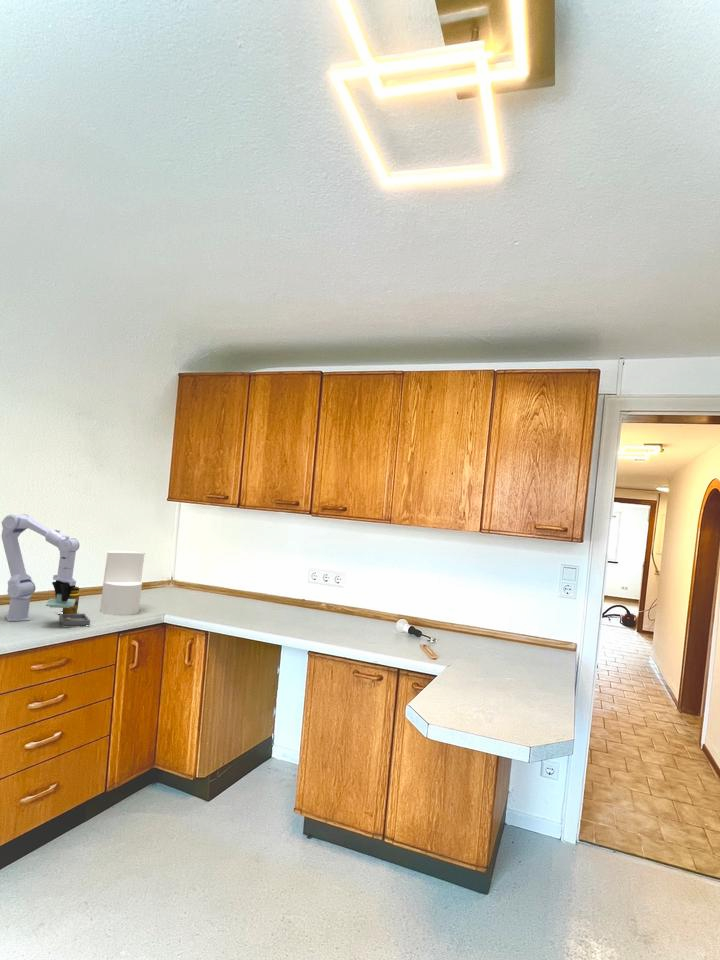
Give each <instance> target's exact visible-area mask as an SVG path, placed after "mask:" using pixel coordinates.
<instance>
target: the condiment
mask: <svg viewBox="0 0 720 960" xmlns="http://www.w3.org/2000/svg"><path fill="white" fill-rule="evenodd" d="M68 599H76V601H75V604H74V606H73V607H70V608H62V611H61V612H63V614H77V613H78V608H79V600H80V587H79V586H75V587H74V589H73V590H72V592H71V594H70V596H69V598H68Z"/></svg>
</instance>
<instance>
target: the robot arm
mask: <svg viewBox="0 0 720 960" xmlns="http://www.w3.org/2000/svg"><path fill="white" fill-rule="evenodd" d="M1 527H2V531H1V541H2V544H3V549H4V554H5V558H6V562H7V565H8V570H9V574H10V578H9V580H8V581H7V594H8V597H9V599H10V601H9V605H8V607H9V608H8V613H7V614H5V617H6V621H7V622H25V621H30V617H29V612H30V611H29V610H30V603H31V597H32V595H33V594H34V593H35V591H36V584H35V582H34V581H33V579H32V577H31V576H30V575H29V574H28V573H27V572H26V568H25V563H24V559H23V554H22V550H21V548H20V547H21V546H20V543H19V542H20V541H19V540H18V538H19V536H20V535H21V534H22V533H23V532H24V531H26V530H27V529H29V530H32V531H33V532H34V533H37V534H39V535H41V536H43V537H44V540H45V542H46V543H49V544H51V545H52V546H54V547H56V548H57V550H58V551H59V559H58V560H59V562H58V568H57V573H56V574H53V576H52V580H53V581H52V582H51V584H52V586H53V589H54V595H55V598H56V597H57V594H62V601H68V598H69V596H70V594H71V592H72V590H73V589H74V587H76V584H77V581H76V580H75V579H74V578H73V574H74V570H75V569H74V567H75V561H76V553H77V551H78V550H79V549H80V542H79V540H77V538H70V536H69V535H66V534H64V533H62V532H61V530H60V529H49V528H48V527H47V526H45V525H43V524H42V523H41V522H39V521H37V520H36V519H35V518H34V517H33V516H29V515H28V514H25V513H23V514H8V515H5V517H4V518H3V519H2V521H1Z"/></svg>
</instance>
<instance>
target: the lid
mask: <svg viewBox="0 0 720 960" xmlns="http://www.w3.org/2000/svg"><path fill="white" fill-rule="evenodd" d="M75 601H76V599H68V601H62V594H57V597H56V596H55V598H52V597H51V598H49V599H48V601H47V602H46V604H45V607H49V608H54V609H55V608H59V609H60V608H61V609H63V608H70V607H73V606H74V604H75Z"/></svg>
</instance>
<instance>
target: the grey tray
mask: <svg viewBox="0 0 720 960" xmlns="http://www.w3.org/2000/svg"><path fill="white" fill-rule="evenodd" d="M58 616H59V617H58V621H59V620H60V621H59V622H61V623H60V625H61V626H62V625H63V626H80V627H87V626H86V625H91V619H90V618H89V617H88V615H86V614H85V613H78V614H60V615H58ZM63 626H62V627H63Z"/></svg>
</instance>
